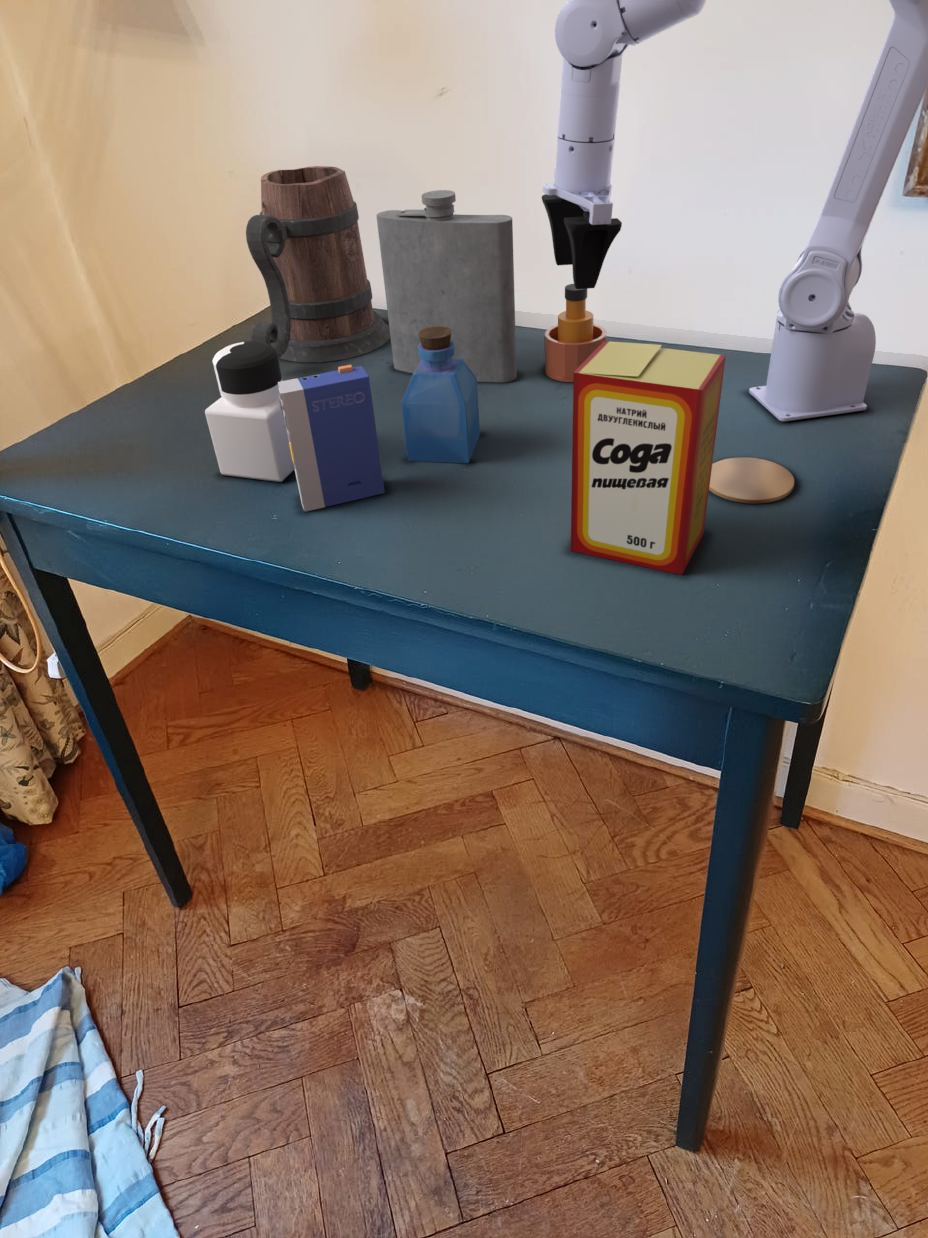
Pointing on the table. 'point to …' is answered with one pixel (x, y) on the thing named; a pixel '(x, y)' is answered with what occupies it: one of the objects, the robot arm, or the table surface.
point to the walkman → (332, 436)
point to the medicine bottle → (249, 414)
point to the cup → (568, 353)
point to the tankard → (313, 268)
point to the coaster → (750, 480)
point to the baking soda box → (643, 452)
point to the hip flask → (450, 284)
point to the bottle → (575, 317)
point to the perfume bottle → (440, 403)
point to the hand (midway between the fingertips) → (574, 275)
